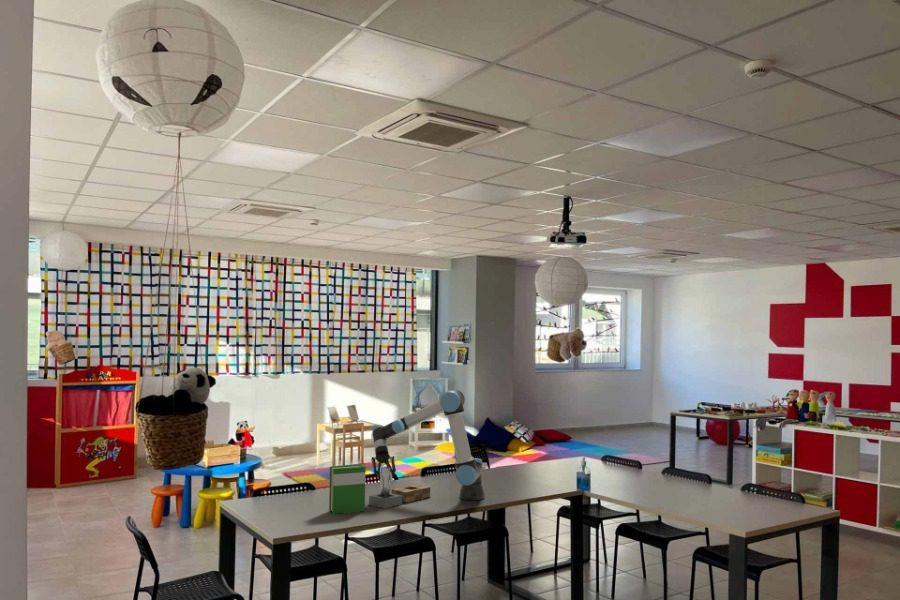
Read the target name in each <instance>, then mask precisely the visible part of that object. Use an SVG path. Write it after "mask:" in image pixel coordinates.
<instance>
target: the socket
mask: <svg viewBox="0 0 900 600" xmlns="http://www.w3.org/2000/svg"><path fill="white" fill-rule="evenodd" d="M368 497H369V498H368V505H369V506H372V505H373V506H372V507H376V506H377V508H380V507H381V508H380V509H384V508H385V509H388V507H390V508H394V507H397V505H398V506H402V505H401V504H402V503H403V502H402V496H401V495H396V494H392V492H390V497H387V498H384V497H381V492H380V493H377V494H370V495H368ZM393 506H394V507H393Z"/></svg>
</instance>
